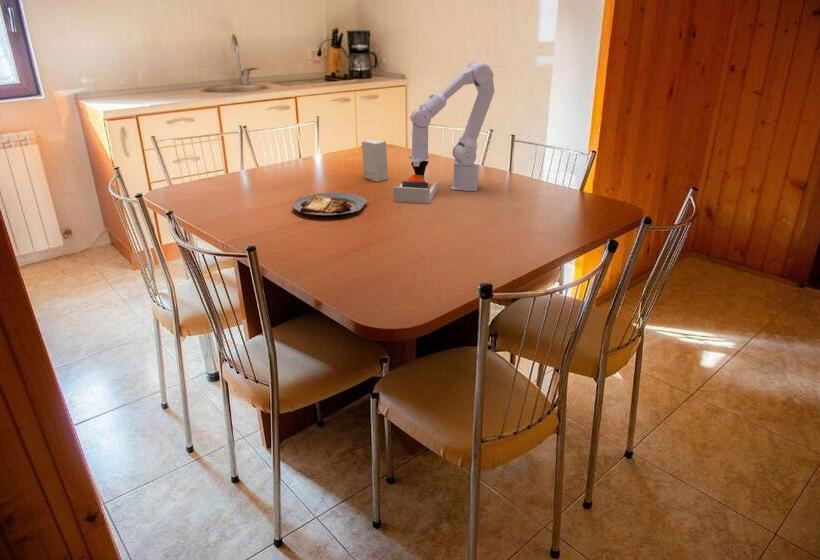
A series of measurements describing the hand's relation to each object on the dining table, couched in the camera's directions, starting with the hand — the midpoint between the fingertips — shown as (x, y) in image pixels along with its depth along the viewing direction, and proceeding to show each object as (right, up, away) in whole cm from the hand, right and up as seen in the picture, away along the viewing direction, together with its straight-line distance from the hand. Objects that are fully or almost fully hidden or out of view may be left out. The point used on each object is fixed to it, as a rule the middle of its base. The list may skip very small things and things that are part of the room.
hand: (419, 181), depth 214 cm
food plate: (-30, -12, -18) cm, 37 cm away
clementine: (-1, -5, -2) cm, 5 cm away
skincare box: (-17, +3, +16) cm, 24 cm away
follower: (-2, -6, -6) cm, 9 cm away
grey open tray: (-1, -6, -5) cm, 8 cm away
